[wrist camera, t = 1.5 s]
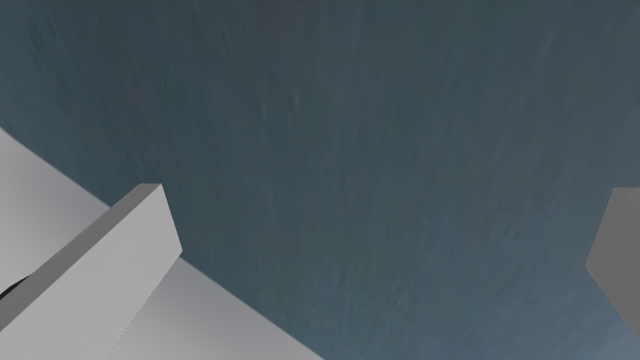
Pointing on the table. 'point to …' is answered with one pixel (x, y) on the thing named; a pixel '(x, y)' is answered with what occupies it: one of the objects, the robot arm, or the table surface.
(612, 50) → the table surface
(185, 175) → the table surface
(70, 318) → the robot arm
